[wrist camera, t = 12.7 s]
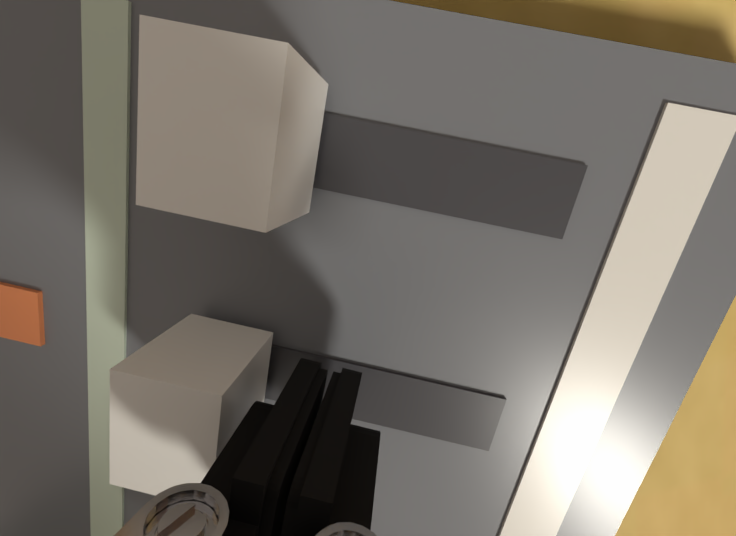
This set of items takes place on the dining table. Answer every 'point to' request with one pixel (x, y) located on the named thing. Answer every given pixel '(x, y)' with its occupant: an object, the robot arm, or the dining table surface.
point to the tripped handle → (183, 401)
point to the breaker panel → (363, 242)
